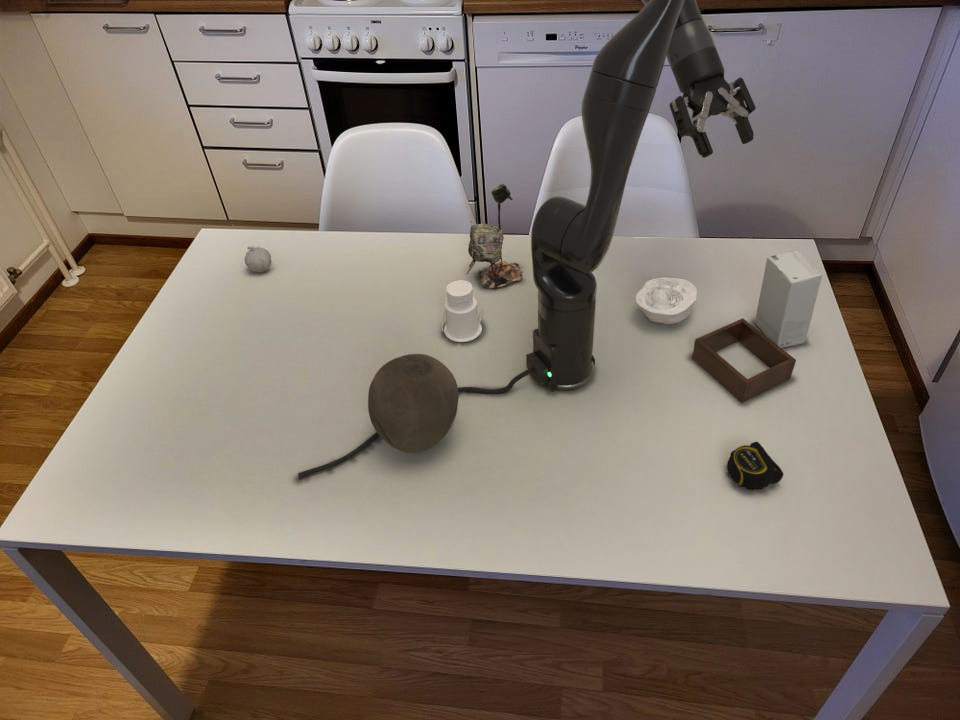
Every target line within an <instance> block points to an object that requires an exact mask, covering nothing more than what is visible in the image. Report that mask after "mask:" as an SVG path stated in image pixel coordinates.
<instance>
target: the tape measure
mask: <svg viewBox="0 0 960 720" xmlns="http://www.w3.org/2000/svg"><path fill="white" fill-rule="evenodd" d="M726 471H727V473H728V476H729V477H730V479H731V480H732V481H733V482H734V483H735V484H736V485H738V486H739V487H740V488H744V490H750V491H761V490H763V489H765V488H767V487H769V486H771V485H775V484H778V483H779V482H781V481H782V479H783V477H784V472H783V470H782V469H781V467H780V466H779V464H777V463H776V462H775V461H774V460H773V458H772V457H771V456H770V455H769V454H768V452H767V451H766V449H765V448H764V447H763V446H762V444H760V442H759V441H754V442H751V443H750V444H749V445H741V446H739V447H737V448H735V449H734V450H732V451H731V452H730V455H729V458H728V460H727V463H726Z"/></svg>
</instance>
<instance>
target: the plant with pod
mask: <svg viewBox="0 0 960 720" xmlns="http://www.w3.org/2000/svg"><path fill="white" fill-rule="evenodd" d="M490 193H491V196H492V198H493V200H494V202H495V203H497V224H498V225H497V224H491V223H476V224H473V225H471V226H470V230H469V239H470V240H469V243H468V247H467V252H468V255H469V256H470V257H471V259H472V261H471V262H470V264H469V265H468V268H467V270H466V273H465V275H469V273H470V272H471V270H472V269H473V267H474V265H475V264H476V262H478V263H479V262H480V263H489V264H490V265H488V266H487V267H484V268H483V267H482V269H480V270H478V277H479V280H480V283H481V284H482V287H484V288H486V289H494V288H500V287H505V286H506V285H508V284H509V283H513V282H514V281H522V279H523V278H524V277H523V276H524V275H523V272H524V271H522V270H521V267H520V264H519V263H518V262H512V263H508V262H507V261H506V260H505V261H503V255H502V254H503V253H502V250H503V245H504V244H503V242H504V239H505V237H504V231H503V229H502V226H501V206H502V205H501V204H503V203H504V202H505V201H506V200H510V201H513V198H512V196H511V191H510V189H509V188H508V187H507V185H506V184H505V183H500V184H498V185H496V186H495V187H494V188H493V189H492V190H491V192H490ZM472 223H473V221H470V224H472Z"/></svg>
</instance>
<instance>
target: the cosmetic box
mask: <svg viewBox="0 0 960 720" xmlns="http://www.w3.org/2000/svg"><path fill="white" fill-rule="evenodd" d="M822 278H823V274H822V273H821V272H820V271H819V270H818V269H817V268H816V267H815V266H814V265H813V264H812V263H811V262H809V261H808V259H806V258H805V256H803V254H801V253H800V251H798V250H792V251H787V252H782V253H779V254H774V255H771V256H767V257H766V262H765V268H764V271H763V278H762V282H761V288H760V292H759V297H758V303H757V308H756V313H755V319H754V324H755V325H756V326H757V328H758V330H759V331H760V332H761V333H763V334H764V335H765V336H766V337H768V338H769V339H770V340H772V341H773V342H774V343H775V344H777V345H778V346H779V347H780V348H782V349H783V348H788V347H794V346H799V345H803V344H805V343H806V341H807V337H808V333H809V329H810V326H811V321H812V317H813V313H814V309H815V304H816V301H817V297H818V293H819V288H820V285H821V281H822Z"/></svg>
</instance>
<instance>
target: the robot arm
mask: <svg viewBox="0 0 960 720" xmlns="http://www.w3.org/2000/svg"><path fill="white" fill-rule="evenodd" d="M641 2H642V4H644V6H643V8H641V9H640V10H639V12H637V14H635V16H633V17H632V18H631V20H630V21H628V22H627V23H626V24H625V25H623V27H621V29H619V31H617V32H616V33H615V34H614V35H613V36H612V37H611V38H610V39H609V40H608V41H607V42H606V43H605V44H604V46H602V48H601V49H600V50H599V51H598V53H597V54H596V56H595V58H594V60H593V63H592V66H591V70H590V73H589V76H588V80H587V82H586V88H585V90H584V94H583V96H582V101H581V120H582V121H581V122H582V128H583V133H584V139H585V143H586V147H587V153H588V158H589V165H590V183H589V189H588V195H587V199H586V203H585V204H582V203H580V202H578V201H576V200H573V199H570V198H567V197H564V196H560V195H559V196H553V197H550V198H548V199H547V200H545V201H544V202H543V203H542V205H541V206H540V207H539V209H538V210H537V212H536V213H535V217H534V219H533V221H532V227H531V234H530V251H531V252H530V254H531V264H532V279H533V283H534V285H535V287H536V289H537V328H535V329H533V330H532V352H529V353H526V354H525V358H526V359H525V360H526V363H525V364H526V365H525V367H526V370H524V371H522V372H521V373H518V374H517V375H516V376H514V377H513V378H512V379H511V380H510V381H509V383H508V384H507V385H506V386H503V387H501V388H495V389H493V388H491V389H490V388H482V387H476V386H475V387H473V386H462V387H461V386H460V387H458V394H459V393H476V394H477V393H478V394H484V395H485V394H486V395H499V394H503V393H507V392H509V391H510V390H511V389H512V388H513V387H514V385H515V384H516V383H517V382H519V381H520V380H522V379H524V378H525V377H527V376H529V375H531V376H532V378H533V379H534V381H535V383H536V384H537V385H538V386H539V385H543V384H544V385H545V386H546V387H547V388H548V389H549V391H550V392H555V391H572V390H577V389H579V388H581V387H584V385H586V384H587V383H588V382H589V381H590V379H591V378H592V374H593V366H594V367H595V366H596V359H595V357H594V355H593V354H594V353H593V352H594V335H595V334H594V333H595V318H596V304H597V291H598V290H597V289H598V284H597V279H596V276H595V274H594V273H593V272H594V271H596V269H598V268H599V267H600V265H601V264H602V263H603V261H604V259H605V258H606V256H607V253H608V251H609V249H610V247H611V243H612V241H613V237H614V233H615V229H616V225H617V221H618V217H619V213H620V209H621V205H622V201H623V196H624V192H625V189H626V183H627V180H628V176H629V173H630V169H631V166H632V164H633V163H632V162H633V160H634V156H635V153H636V150H637V147H638V144H639V141H640V138H641V135H642V132H643V129H644V126H645V123H646V121H647V118H648V117H649V114H650V110H651V106H652V103H653V100H654V98H655V95H656V91H657V89H658V85H659V82H660V78H661V76H662V73H663V69H664V66H665V62H666V59H667V62H668V64H669V67H670V69H671V72H672V74H673V78H674V79H675V82H676V84H677V87H678V90H679V92H680V93H681V94H683V96H682V95H679V96H677V97H676V98H674V99H673V100H672V101H671V102H670V103H669V109H670V111H671V114H672V118H673V120H674V121H673V122H674V123H675V126H676V130H677V132H678V135H679V136H680V137H681V138H683V137H690V138H691V139H692V141H693V144H694V146H695V149H696V151H697V154H698V155H699V156H700V157H701V158H703V159H705V158H708V157H710V156H712V155H713V153H714V150H713V147H712V145H711V142H710V140H709V137H708V135H707V132H706V131H704V129H705V125H706V121H707V120H708V118H710V117H711V116H717V115H720V114H721V115H722V116H723V117H728V118H729V119H731V120H732V121H733V122H734V123H735V124H734V127H735V129H736V131H737V134H738V136H739V139H740V142H741V144H742V145H746V144H749V143H751V142H752V141H753V140H754V136H755V134H754V133H755V132H754V130H753V128H752V125H751V123H750V120H749V116H750V115H751V113H753V112H754V111H756V105H755V102H754V101H753V98H752V96H751V94H750V91H749V90H748V87H747V85H746V82H745V80H744V78H743V77H738V78H736V79H735V80H734V81H731V82H729V83H728V81H727V80H726V79H725V67H724V64H723V62H722V60H721V57H720V54H719V52H718V50H717V47H716V45H715V42H714V39H713V36H712V35H711V32H710V30H709V28H708V27H707V24H706V23H705V21H704V18H703V16H702V13H701V10H700V9H699V5H698V3H697V0H641ZM688 108H689V110H691V114H690V113H689V110H688ZM379 437H380V436H379V434H378V433H377V432H376V431H375V433H373V434H372V435H371V436H369V438H367V439H366V440H365V441H363V442H362V443H361V444H360V445H359V446H357V447H356V448H354V449H353V450H351V451H350V452H348V453H347V454H345V455H344V456H341V457H340V458H338V459H335V460H333V461H330V462H328V463H325V464H323V465H318V466H316V467H313V468H310V469H309V468H308V469H306V470H304V471H300V472H298V473H297V476H298V479H302V478H305V477H307V476H310V475H313V474H314V475H315V474H317V473H320V472H323V471H326V470H329V469H332V468H334V467H337V466H339V465H341V464H342V463H345V462H346V461H348V460H350V459H352V458H353V457H355V456H356V455H358V454H360V452H361V451H363V450H364V449H366V448H367V447H368V446H369V445H371V444H372V443H373V442H374V441H375V440H376V439H378V438H379Z"/></svg>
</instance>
